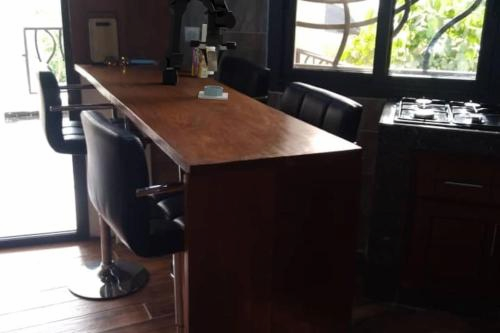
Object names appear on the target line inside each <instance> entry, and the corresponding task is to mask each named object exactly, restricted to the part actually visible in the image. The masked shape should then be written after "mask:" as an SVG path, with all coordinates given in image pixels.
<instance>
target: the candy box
mask: <svg viewBox="0 0 500 333" xmlns="http://www.w3.org/2000/svg"><path fill="white" fill-rule="evenodd" d="M206 48H207V58H208V51H209V47H206ZM191 62H192V63H191V64H192V65H191V76H192V77H196V78H200V79H208V75H209V74H208V71H207V65H206V62H205V58H204V55H203V53H202V50H199V46H198V47H192V61H191Z"/></svg>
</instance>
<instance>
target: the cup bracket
mask: <svg viewBox="0 0 500 333" xmlns="http://www.w3.org/2000/svg"><path fill="white" fill-rule="evenodd" d="M203 87H204V88H203V90H200V91H199V92H198V95H197V98H198V99H204V100H205V99H206V100H207V99H208V100H219V101H221V100H222V101H228V99H229V98H228V97H229V96H228V95H229V93H228V92H224V91H223V89H224V87H222V86H218V85H205V86H203Z"/></svg>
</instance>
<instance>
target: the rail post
mask: <svg viewBox="0 0 500 333" xmlns="http://www.w3.org/2000/svg"><path fill="white" fill-rule="evenodd" d="M218 55H219V50H215V51H208V65H207V71H214V72H218V66H217V61H218Z"/></svg>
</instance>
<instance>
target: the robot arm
mask: <svg viewBox="0 0 500 333" xmlns="http://www.w3.org/2000/svg"><path fill="white" fill-rule="evenodd" d="M192 1H193V0H167V8H168V11H169V13H170V22H169V23H170V25H169V37H168V46H167V48H166V49H165V51H164V54H163V58H162V59H161V61H160V63H159V64H158V70H159V71H162V78H161V80H162V82H161V85H169V86H170V85H172V86H176V85H177V84H178V83H179V73H178V71H179V72H180V71H181V69H182V67H183V66H182V65H183V63H184V53H183V52H182V51H181V47H180V46H181V37H182V26H183V17H184V15H185V13H186V11H187V10H188V7H189V4H190V3H191V2H192ZM197 1H198V2H200V3H201V4H202V6H203V7H205V8H206V9H207V10H205V11H204V13H203V14H204V16H205V15H206V16H207V17H206V24H207V35H206V42H202V41H201V39H191V40H190V41H189V48H193V47H198V46H199V50H202V53H203V55H204V58H205V62H206V65H208V58H207V48H206V46H208V47H215V48H219V50H218V57H217V67H218V66H219V65H220V62H221V58H222V56H223V55H224V53H225V52H227V50H232V51H234V50H235V51H236V50H237V42H236V41H226V42H224V41H225V40H224V38H225V36H224V34H221V32H222V31H221V30H222V29H226V30H231V29H234V27H235V26H236V23H237V19H236V17H235V15H234V14H233V10H229V8H228V6H227V3H226V1H225V0H197Z"/></svg>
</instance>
